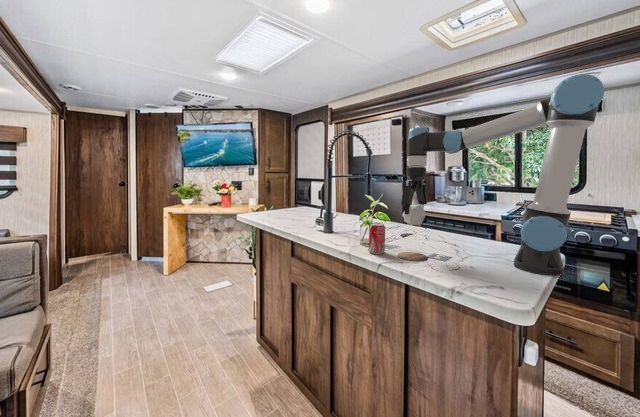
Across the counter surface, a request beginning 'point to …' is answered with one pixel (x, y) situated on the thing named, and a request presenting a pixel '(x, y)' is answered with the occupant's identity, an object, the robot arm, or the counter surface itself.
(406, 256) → the coaster
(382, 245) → the soda can
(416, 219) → the die
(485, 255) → the counter surface
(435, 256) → the tile
